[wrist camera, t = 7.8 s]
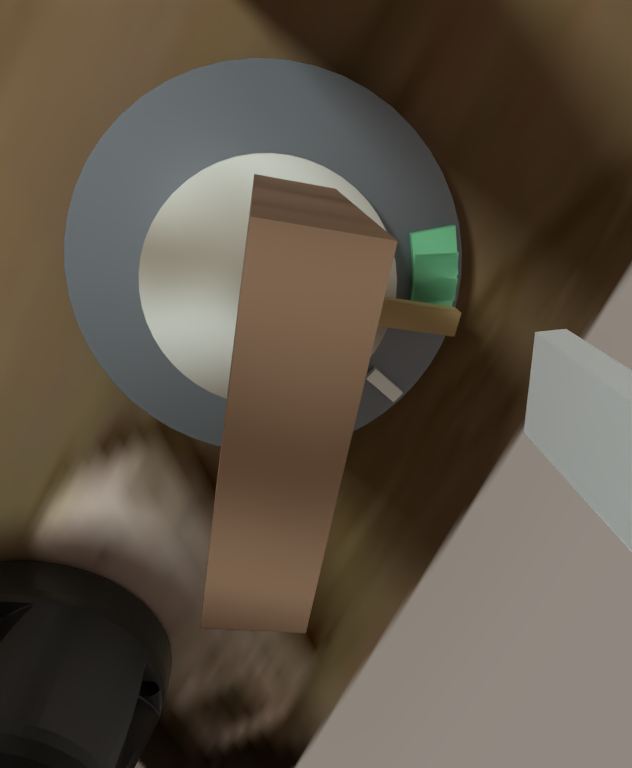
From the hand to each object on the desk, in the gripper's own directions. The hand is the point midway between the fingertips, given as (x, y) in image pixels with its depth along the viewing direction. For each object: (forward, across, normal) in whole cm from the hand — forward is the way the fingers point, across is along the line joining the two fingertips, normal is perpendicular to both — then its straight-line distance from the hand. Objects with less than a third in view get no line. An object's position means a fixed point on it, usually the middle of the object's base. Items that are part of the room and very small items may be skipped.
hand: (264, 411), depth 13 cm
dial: (+10, -2, 0) cm, 10 cm away
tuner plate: (+12, 0, 0) cm, 12 cm away
